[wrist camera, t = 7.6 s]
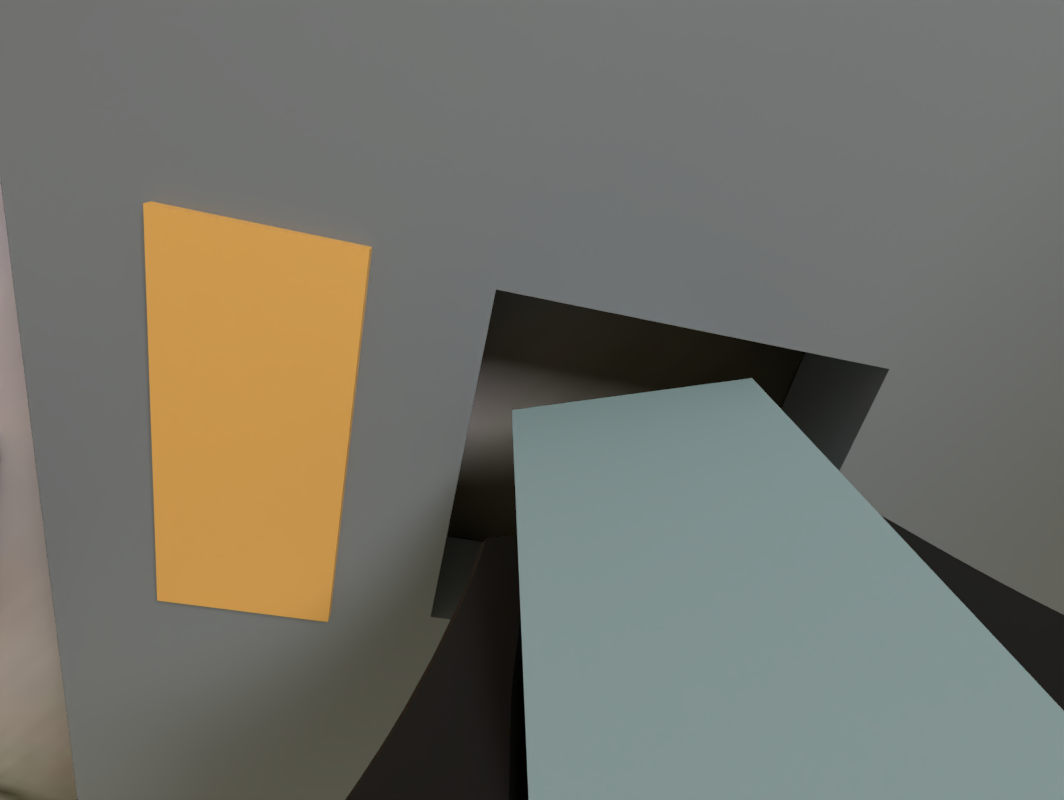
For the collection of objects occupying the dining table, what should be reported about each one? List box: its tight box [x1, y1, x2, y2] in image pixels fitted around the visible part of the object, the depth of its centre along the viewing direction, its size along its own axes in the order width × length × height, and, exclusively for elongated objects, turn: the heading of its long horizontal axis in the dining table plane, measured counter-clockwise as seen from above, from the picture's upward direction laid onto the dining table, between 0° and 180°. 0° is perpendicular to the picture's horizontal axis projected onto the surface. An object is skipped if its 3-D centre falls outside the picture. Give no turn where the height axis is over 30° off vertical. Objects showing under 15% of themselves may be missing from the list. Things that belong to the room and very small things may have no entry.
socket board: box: [0, 0, 1064, 800], centre depth 12 cm, size 20×20×3 cm
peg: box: [512, 378, 1064, 800], centre depth 8 cm, size 4×4×7 cm
